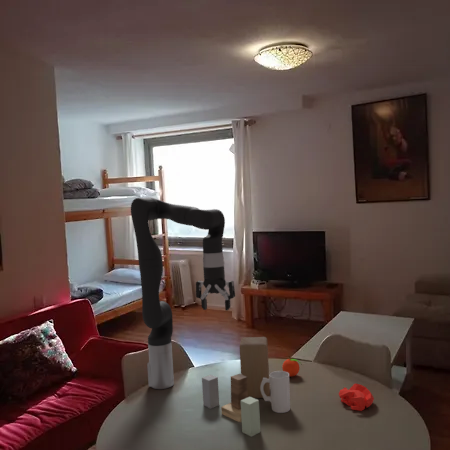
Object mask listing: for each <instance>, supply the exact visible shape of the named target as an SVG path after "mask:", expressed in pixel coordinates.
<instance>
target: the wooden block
mask: <svg viewBox="0 0 450 450" xmlns="http://www.w3.org/2000/svg"><path fill="white" fill-rule="evenodd" d="M268 345H269V344H268V338H267V337H266V336H253V337H252V336H249V337H248V336H246V337H244V336H243V337H241V338H240V343H239V360H240V361H239V362H240V374H242V375H244V376H246V377H247V389H248V397H252V398H255V399H264V398H263V396H262V394H261V390H260V386H261V382H262V380H263V377H264V378H267V379H269V378H270V377H269V374H270V368H269V367H270V364H269V348H268ZM263 390H264V393H265V395H266V396H271V391H270V383H268V382H267V383H265V384H264V386H263Z"/></svg>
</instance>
